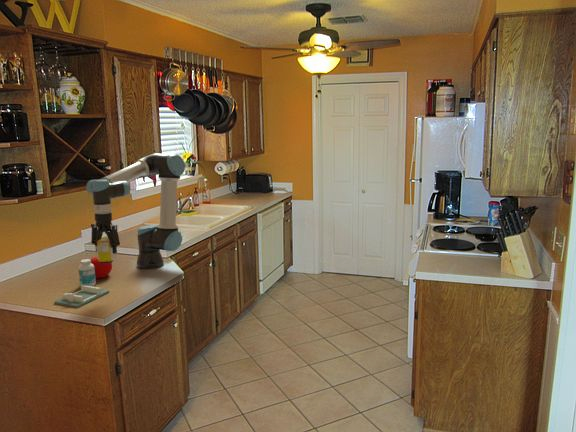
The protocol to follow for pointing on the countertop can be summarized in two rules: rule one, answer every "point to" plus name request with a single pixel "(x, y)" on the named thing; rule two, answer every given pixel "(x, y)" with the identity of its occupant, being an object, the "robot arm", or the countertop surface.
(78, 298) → the board
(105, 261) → the supplement box
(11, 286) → the countertop surface
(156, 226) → the robot arm
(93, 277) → the pill bottle
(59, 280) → the countertop surface
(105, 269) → the tomato
